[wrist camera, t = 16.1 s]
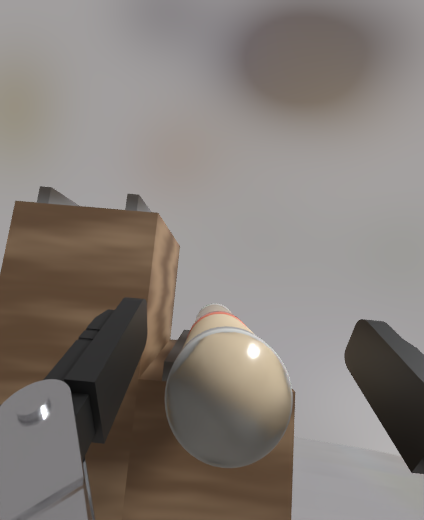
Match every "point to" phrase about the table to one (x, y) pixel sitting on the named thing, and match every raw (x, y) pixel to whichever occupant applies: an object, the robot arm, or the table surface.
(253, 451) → the cream long cylinder
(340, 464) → the table surface
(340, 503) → the table surface
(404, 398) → the robot arm
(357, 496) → the table surface
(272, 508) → the stand
